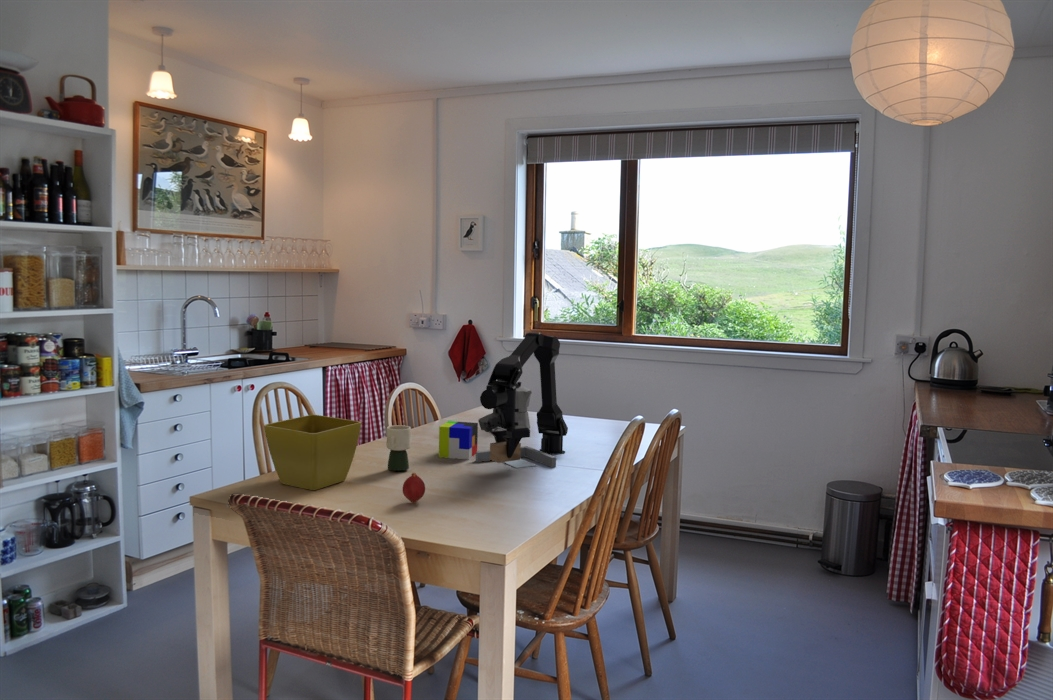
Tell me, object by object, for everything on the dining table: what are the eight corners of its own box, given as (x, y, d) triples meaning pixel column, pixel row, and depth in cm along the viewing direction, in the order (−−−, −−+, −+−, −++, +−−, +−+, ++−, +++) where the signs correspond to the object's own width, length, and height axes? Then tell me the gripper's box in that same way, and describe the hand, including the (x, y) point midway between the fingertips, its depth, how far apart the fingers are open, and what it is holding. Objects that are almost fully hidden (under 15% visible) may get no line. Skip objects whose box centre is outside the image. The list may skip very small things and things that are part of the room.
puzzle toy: (468, 459, 248) (469, 428, 247) (438, 457, 250) (439, 426, 249) (477, 452, 258) (477, 422, 257) (448, 450, 260) (448, 421, 259)
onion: (403, 499, 203) (403, 469, 202) (425, 499, 204) (425, 469, 203) (401, 506, 197) (401, 475, 196) (424, 506, 198) (424, 475, 197)
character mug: (393, 465, 238) (394, 423, 237) (416, 467, 237) (416, 424, 235) (379, 473, 228) (380, 430, 226) (402, 475, 226) (403, 431, 225)
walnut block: (511, 456, 238) (512, 440, 237) (520, 459, 234) (520, 443, 234) (489, 459, 233) (490, 443, 233) (498, 462, 230) (498, 446, 229)
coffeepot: (538, 429, 298) (540, 382, 296) (521, 432, 291) (522, 384, 290) (511, 423, 309) (512, 378, 307) (493, 426, 302) (494, 379, 301)
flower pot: (313, 496, 204) (313, 433, 202) (262, 484, 213) (261, 424, 211) (362, 480, 220) (363, 421, 219) (312, 470, 230) (312, 414, 228)
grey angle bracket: (526, 455, 256) (527, 446, 256) (555, 466, 242) (556, 457, 241) (475, 461, 246) (475, 451, 246) (502, 473, 232) (502, 463, 231)
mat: (519, 458, 250) (519, 458, 250) (536, 465, 242) (536, 465, 242) (500, 461, 247) (500, 460, 247) (516, 468, 238) (516, 467, 238)
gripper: (467, 401, 236) (466, 452, 237) (498, 411, 220) (497, 466, 222) (499, 399, 242) (498, 448, 243) (531, 408, 226) (530, 461, 227)
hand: (505, 456), depth 234 cm, fingers closed on walnut block, 5 cm apart
